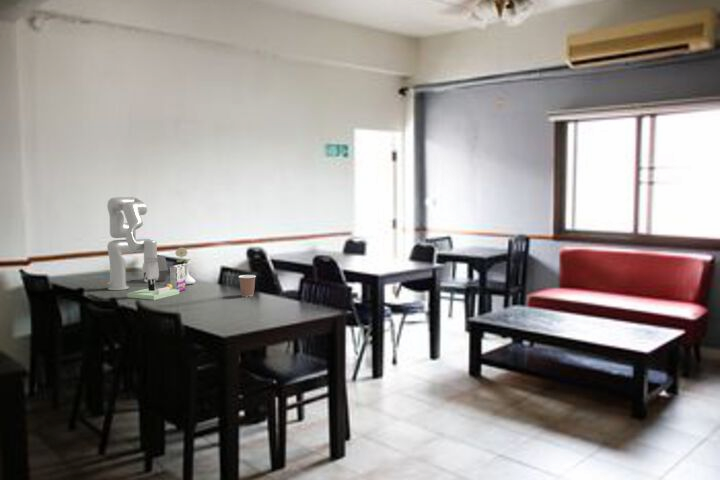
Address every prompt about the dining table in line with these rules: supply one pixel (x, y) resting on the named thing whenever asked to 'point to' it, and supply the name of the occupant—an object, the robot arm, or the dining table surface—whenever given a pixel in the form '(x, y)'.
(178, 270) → the candy bar box
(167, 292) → the green deck
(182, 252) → the flower in vase
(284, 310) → the dining table surface
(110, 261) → the robot arm
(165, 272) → the planter
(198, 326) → the dining table surface
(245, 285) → the coffee cup
